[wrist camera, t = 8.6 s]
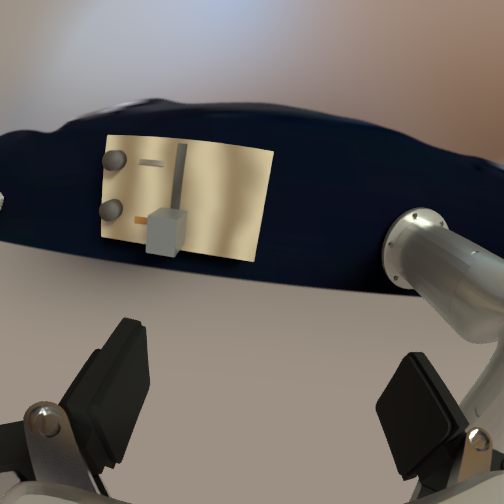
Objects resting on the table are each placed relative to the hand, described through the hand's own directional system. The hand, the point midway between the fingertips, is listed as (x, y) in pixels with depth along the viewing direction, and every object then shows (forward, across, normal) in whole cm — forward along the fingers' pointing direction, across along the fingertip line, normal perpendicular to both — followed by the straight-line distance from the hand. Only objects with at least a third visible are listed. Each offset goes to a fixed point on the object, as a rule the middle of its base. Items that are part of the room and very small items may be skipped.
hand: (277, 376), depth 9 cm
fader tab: (+24, +10, +3) cm, 26 cm away
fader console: (+28, +10, -1) cm, 30 cm away
